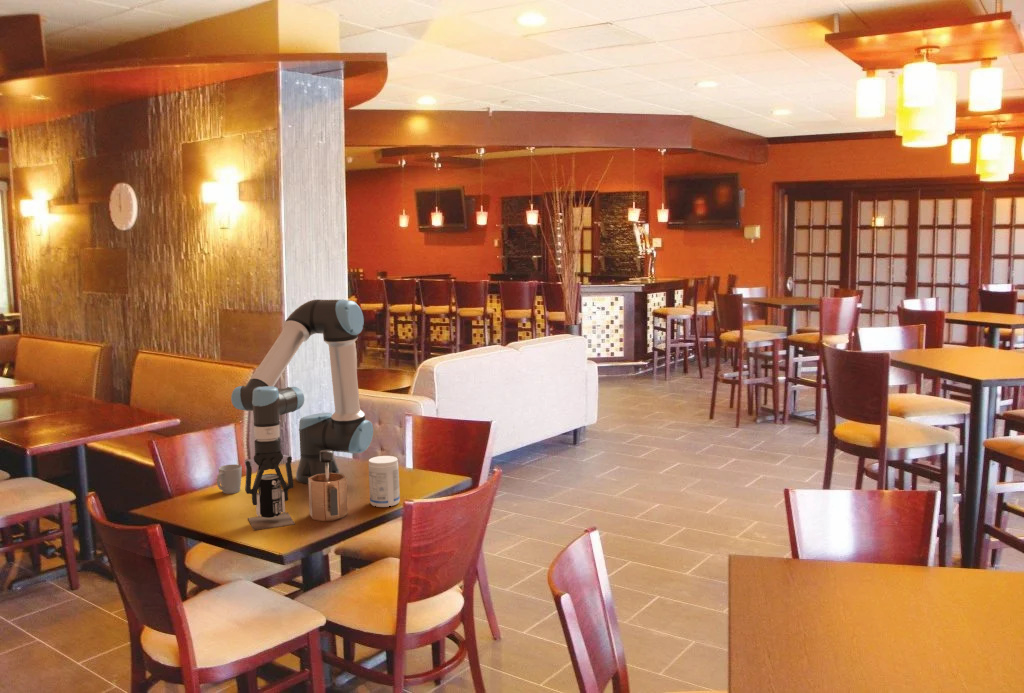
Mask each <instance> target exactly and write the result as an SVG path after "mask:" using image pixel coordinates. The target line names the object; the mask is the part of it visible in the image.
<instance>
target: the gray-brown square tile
mask: <svg viewBox="0 0 1024 693" xmlns="http://www.w3.org/2000/svg"><path fill="white" fill-rule="evenodd" d="M247 520H248V522H249V525H250V526H251V528H252V530H253V531H255V532H256V531H259V530H261V531H262V530H268V529H274V528H280V527H287V526H294V525H296V522H295V521H294V520H293V518H292V516H291V515H290V514H289V512H285V513H282V512H281V514H280V515H279V516H276V517H271V518H266V517H262V516H261V515H260V516H252V517H247Z"/></svg>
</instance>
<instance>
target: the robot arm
mask: <svg viewBox="0 0 1024 693" xmlns="http://www.w3.org/2000/svg"><path fill="white" fill-rule="evenodd" d="M364 319H365V318H364V314H363V311H362V309H361V307H360V306H359V305H358V304H357V302H356V301H354V300H348V299H347V300H346V299H312V300H308V301H306V302H304V303H303V304H301V305H300V306H299V307H297V308H296V309H295V310H294V311H292V312H291V313H290V315H288V317H287V318H286V320H285V321H284V323H283V324H282V331H281V333H280V334H279V335H278V336H277V339H276V340H275V342H274V343H273V345H272V346H271V348H270V349H269V351H268V352H267V353H266V355H265V356H264V358H263V359H262V361H261V362H260V364H259V365H258V366H257V368H256V370H255V371H254V373H253V374H252V376H251V377H250V379H249V380H248V382H247V383H246V385H240V386H237V387H234V389H233V390H232V392H231V396H230V397H231V398H230V401H231V403H232V406H233V407H234V408H235V409H237V410H241V411H246V412H248V411H249V412H250V411H251V412H253V413H252V414H253V415H252V416H253V436H254V437H253V438H254V439H255V440H254V456H253V458H250V459H244V464H245V467H246V469H245V483H244V484H245V485H244V486H245V488H244V489H245V493H246V494H247V495H248V494H249V495H251V503H252V504H253V506H255V507H256V508H255V509H256V510H255V511H256V517H258V516H261V515H260V497H259V492H258V488H259V485H260V484H259V483H260V481H261V478H262V475H264V473H265V471H268V470H274V471H275V474H277V476H279V479H280V481H281V497H282V512H281V513H286V502H287V501H288V500H289V490H291V489H294V487H295V484H294V478H293V477H294V476H293V470H292V460H293V458H292V456H291V455H290V454H287V455H285V454H283V453H282V445H281V444H282V442H281V441H282V440H281V425H280V424H281V421H280V418H281V417H280V416H282V415H286V414H290V413H294V412H295V411H298V410H300V409H301V408H302V407H303V405H304V403H305V395H304V392H303V391H302V390H301V389H300V388H299V387H296V386H287V387H285V388H284V387H283V388H280V387H277V386H275V385H276V384H277V382H278V381H279V379H280V378H281V377H282V374H283V373H284V372H285V370H286V368H287V367H288V366H289V363H290V362H291V361H292V359H293V358H294V356H295V354H297V352H298V350H299V348H300V347H301V345H302V344H303V343H304V342H307V341H308V340H309V339H310V337H311V336H312V335H315V334H321V335H323V342H325V344H327V345H328V350H329V360H330V370H331V371H330V372H331V382H332V393H333V401H334V413H331V412H321V413H314V414H309V415H305V416H303V417H301V418H300V419H299V421H298V422H299V424H298V431H299V452H300V459H299V463H298V466H297V470H296V474H295V476H296V477H295V480H296V481H297V482H298V483H302V484H308V478H310V477H312V476H314V475H317V474H324V473H326V472H325V463H323V462H320V451H322V450H333V461H332V462H328V464H329V473H340V469H339V466H338V464H337V462H336V458H335V454H334V452H337V453H347V454H362V453H365V451H367V450H368V448H369V447H370V445H371V443H372V440H373V436H374V427H373V426H374V425H373V424H372V421H370V420H368V419H366V413H365V411H363V410H362V409H361V406H360V394H359V393H360V392H359V382H358V371H357V360H356V359H357V358H356V349H355V342H356V341H357V340H358V339H359V334H361V333H362V331H363V329H364V327H363V326H364V325H365V324H364V322H365V320H364ZM282 460H283V463H285V469H286V476H287V477H286V478H287V483H286V481H285V479H284V477H283V474H282V472H281V469H280V466H279V465H280V463H281V462H282ZM254 463H255V464H256V465H257V466H258V467H257V472H256V475H255V479H254V481H253V485H252V473H253V472H252V467H254Z"/></svg>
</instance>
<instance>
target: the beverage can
mask: <svg viewBox="0 0 1024 693" xmlns="http://www.w3.org/2000/svg"><path fill="white" fill-rule="evenodd" d="M259 484H260V485H259V488H258V491H257V493H259V497H260V516H262V517H266V518H271V517H276V516H279V515H280V514H281V513H282V497H281V490H282V485H281V481H280V479H279V476H277V474H276V473H266V474H264V473H263V475H262V478H261V481H260V483H259Z"/></svg>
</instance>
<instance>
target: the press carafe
mask: <svg viewBox="0 0 1024 693" xmlns="http://www.w3.org/2000/svg"><path fill="white" fill-rule="evenodd" d="M307 484H308V500H309V501H308V503H309V504H308V505H309V516H310V517H311V519H312V520H314V521H319V522H330V521H338V520H341V519H343V518H345V517H346V516H347V515H348V513H349V512H348V511H349V510H348V488H347V485H348V484H347V476H346V474H344V473H340V472H339V473H329V482H326V473H324V474H317V475H314V476H312V477H310V478H308V483H307Z"/></svg>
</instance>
